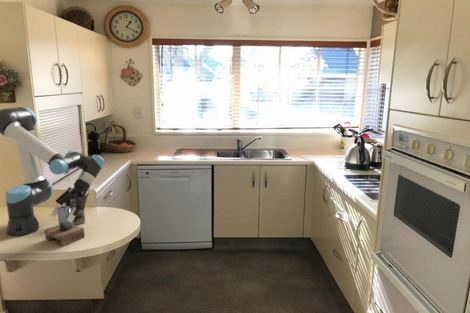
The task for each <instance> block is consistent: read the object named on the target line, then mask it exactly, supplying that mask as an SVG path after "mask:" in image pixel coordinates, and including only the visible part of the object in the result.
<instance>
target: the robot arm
mask: <svg viewBox="0 0 470 313" xmlns="http://www.w3.org/2000/svg"><path fill="white" fill-rule="evenodd" d="M37 121H38V118H37V115H36V113H35V112H34V111H33V110H32V109H31V108H29V107H26V106H25V107H24V106H23V107H22V106H20V107H19V106H18V107H17V106H16V107H8V108H1V109H0V135H2V136H3V137H5V138H8V139H9V138H10V139H11V140H13V141H14V142H15V143H16V147H17V152H18V155H19V159H20V163H21V167H22V171H23V175H24V178H25V179H24V181H23V182H22V184H23V185H21V184H20V185H17V186H13V187H11V188H9V189H8V190H7V191H6V192H5V204H6V209H7V216H8V221H7V226H6V234H7V235H8V234H10V235H21V236H25V235H24V234H26V235H29V233H30V234H33V233H35V232H36V231H38V230H40V222H39V221H38V219H37V217H36V216H35V211H34V207H36V206H38V205H41V204H42V203H45V202H47V201H48V200H51V198H52V197H53V196H54V190H55V189H54V186H53V184H52V183H51V182H50V181H49V180H48V179H47V177H46V176H44V175H43V172H42V168H41V164H40V160H41V161H42V162H43V163H45V164H46V165H48V168H49V171H50V172H51V173H52V174H53V175H61V174H65V173H66V172H67V173H68V172H69V171H72V170H75V169H80V170H82V171H81V172H80V174H79V175H78V177H77V178H76V180H75V182H74V183H73V187H71V186H69V187H68V188H67V189H66V190H65V191H64V192H63V193H62V194H61V195H60V196H58V197H57V198H56V199H55V202H56V205H55V206H54V207H53V209H52V210H51V213H50V214H49V215H50V216H51V217H54V218H55V217H56V216H58V211H57V209H58V208H59V207H63V205H65V202H67V201H68V200H70V199H71V198H76V207H75V208H74V209H73V211H72V212H71V214H70V215H69V217H68V219H67V220H68V221H70V222H72V221H73V219H74V218H75V216H76V215H77V214H78V212H79V211H80V210H84V211H85V208H86V203H87V198H88V196H89V195H90V193H89V192H88V190H90V187H91V185H92V184H93V183H94V181H95V179H96V178H97V176H98V175H99V173H100V172H101V170H102V169H103V167H104V165H105V162H106V161H105V159H104V158H103V157H101V155H97V154H93V155H92V156H89V155H88V156H87V155H85V154H83V153H80V152H78V151H75V150H68V151H67V152H66V153H65V155H64V156H63V155H62V154H60V152H58V151H56V150H55V149H53V148H52V147H50V146H49V145H48V144H47V143H45V141H43V140H41V139H40V138H38V137H37V136H35V135H34V132H35V126H36V125H37ZM39 159H40V160H39ZM32 232H33V233H32ZM10 235H9V236H10Z"/></svg>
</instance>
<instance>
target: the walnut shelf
mask: <svg viewBox="0 0 470 313" xmlns="http://www.w3.org/2000/svg"><path fill="white" fill-rule="evenodd" d="M72 226H73V228H72V229H71V230H68V231H60V229H59V225H57V226H55V227H51V228H48V229H45V230H44V233H45V234H44V236H45V241H47V240H48V241H47V242H49V240H50V241H52V240H54V238H55V239H57V240H59V244H60V246H61V247H65V246H68V245H70V244H72V243H75V242H77V241H79V240H82V239H84V238H85V228H84V227H81V226H78V225H72Z"/></svg>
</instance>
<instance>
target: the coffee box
mask: <svg viewBox="0 0 470 313" xmlns="http://www.w3.org/2000/svg"><path fill="white" fill-rule="evenodd" d="M64 206H70V207H71V212H72V211H73V209H74V208H75V207H76V198H71V199H70V200H68V201H67V202H65V203H64ZM85 216H86V215H85V209H84V210H80V211H79V212H78V214H77V215H76V216H75V218H74V219H73V221H72V225H75V226H77V225H80V224H86V218H85Z"/></svg>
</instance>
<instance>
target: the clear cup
mask: <svg viewBox="0 0 470 313" xmlns="http://www.w3.org/2000/svg"><path fill="white" fill-rule="evenodd" d="M57 211H58V213H57V217H58V218H57V219H58V226H59V229H60V231H68V230H71V229H72V228H73V226H72V222H70V221H68V220H67V219H68V217H69V215H70V214H71V207H70V206H65V205H64V206H63V205H62V207H59V208H58V209H57Z"/></svg>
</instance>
